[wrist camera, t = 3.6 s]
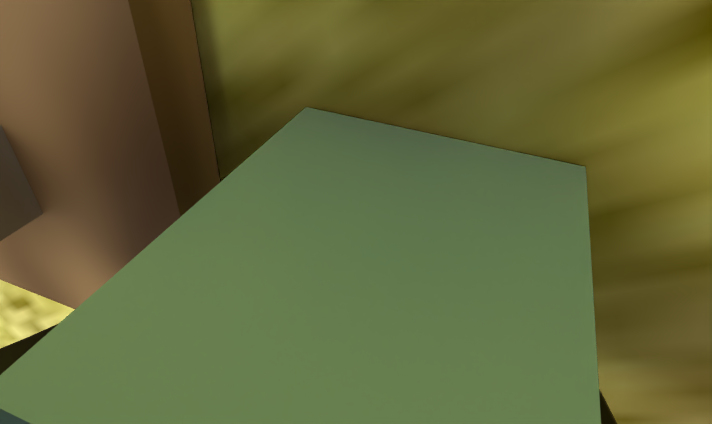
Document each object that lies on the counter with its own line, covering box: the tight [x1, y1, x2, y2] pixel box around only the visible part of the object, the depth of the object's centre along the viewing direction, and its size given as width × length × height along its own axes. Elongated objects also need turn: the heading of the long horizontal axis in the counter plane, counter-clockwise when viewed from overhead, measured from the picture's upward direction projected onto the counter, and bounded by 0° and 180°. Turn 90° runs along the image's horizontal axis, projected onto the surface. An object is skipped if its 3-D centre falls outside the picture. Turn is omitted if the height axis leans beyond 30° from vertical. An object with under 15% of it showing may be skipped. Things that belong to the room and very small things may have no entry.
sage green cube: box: [0, 107, 601, 424], centre depth 7 cm, size 5×5×7 cm
